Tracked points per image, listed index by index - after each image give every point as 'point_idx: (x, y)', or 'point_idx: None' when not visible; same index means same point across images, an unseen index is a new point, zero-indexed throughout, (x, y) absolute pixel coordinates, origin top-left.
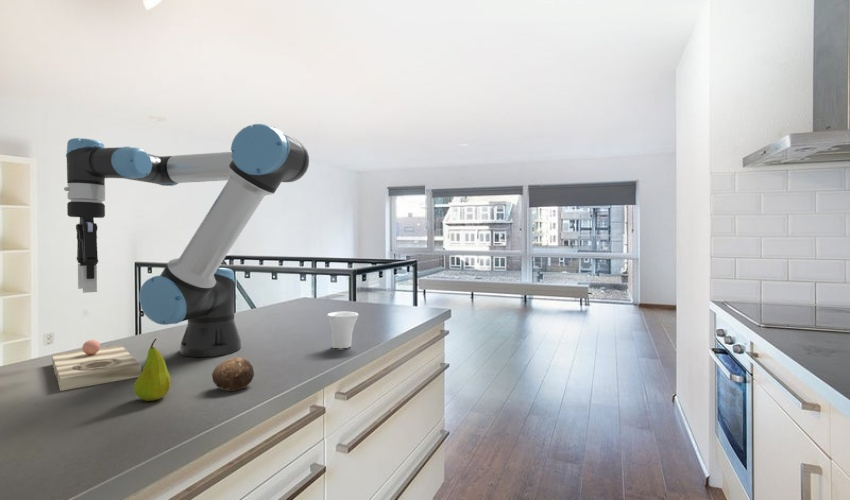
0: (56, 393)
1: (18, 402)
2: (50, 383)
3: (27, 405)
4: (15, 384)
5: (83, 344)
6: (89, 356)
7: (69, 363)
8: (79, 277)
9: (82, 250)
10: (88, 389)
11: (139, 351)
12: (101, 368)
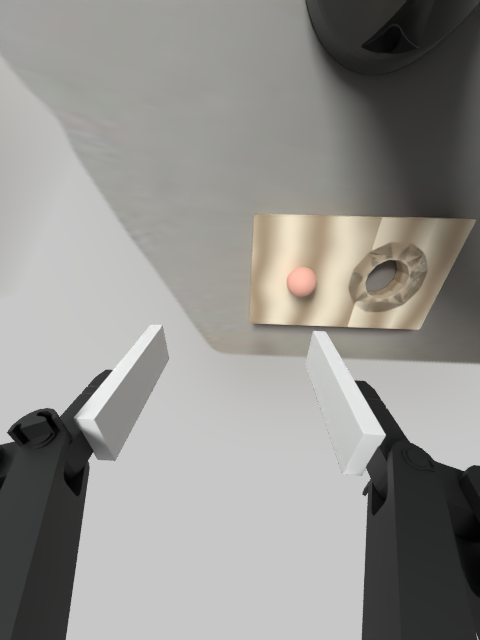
0: None
1: (408, 354)
2: None
3: (429, 349)
4: None
5: (299, 296)
6: None
7: (337, 311)
8: (150, 389)
9: (59, 595)
10: None
11: (249, 172)
12: (420, 280)
